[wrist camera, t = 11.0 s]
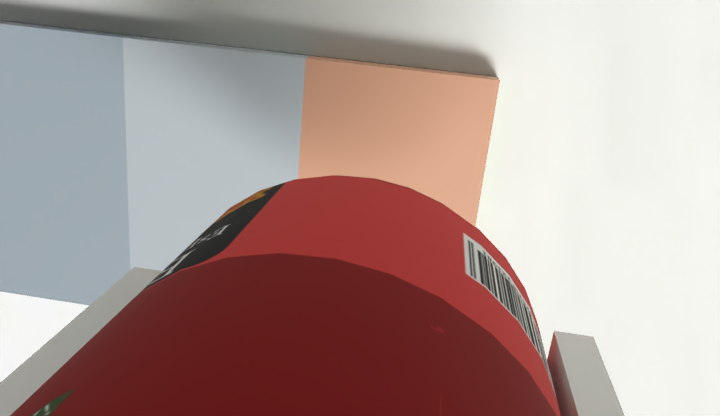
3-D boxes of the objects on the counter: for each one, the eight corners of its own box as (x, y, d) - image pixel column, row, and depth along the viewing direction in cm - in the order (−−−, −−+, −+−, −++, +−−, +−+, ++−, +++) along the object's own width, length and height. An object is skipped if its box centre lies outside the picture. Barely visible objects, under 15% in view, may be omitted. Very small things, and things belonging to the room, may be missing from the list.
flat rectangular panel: (-3, 279, 25) (-18, 288, 24) (-33, 17, 22) (-51, 17, 21) (452, 350, 23) (452, 362, 22) (497, 76, 20) (499, 80, 19)
